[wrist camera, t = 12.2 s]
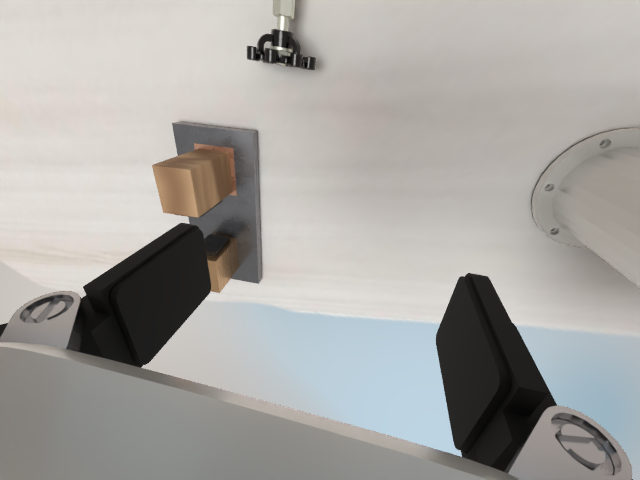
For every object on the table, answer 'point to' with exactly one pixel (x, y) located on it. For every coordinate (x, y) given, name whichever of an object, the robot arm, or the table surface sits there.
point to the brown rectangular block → (193, 182)
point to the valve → (281, 41)
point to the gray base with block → (229, 203)
